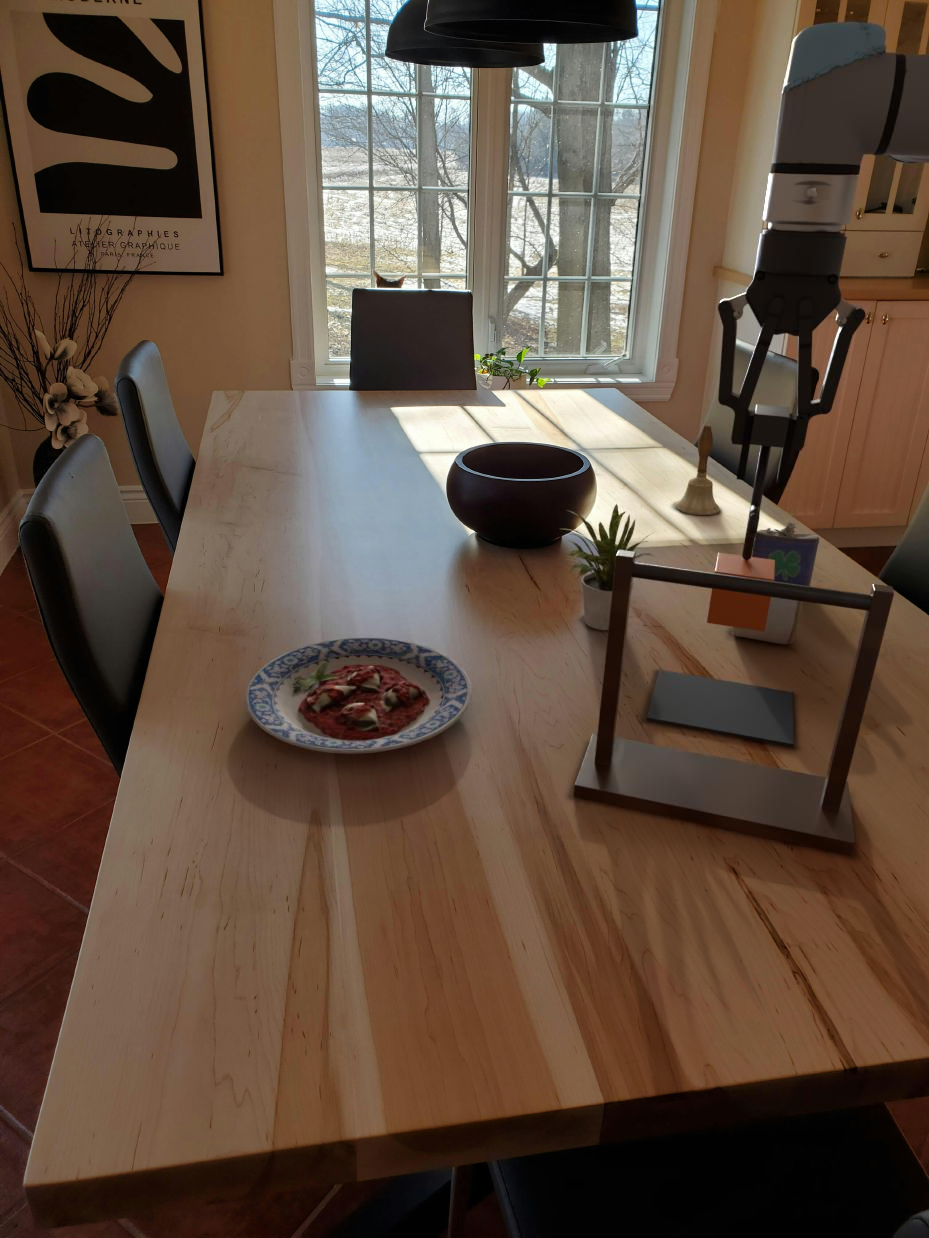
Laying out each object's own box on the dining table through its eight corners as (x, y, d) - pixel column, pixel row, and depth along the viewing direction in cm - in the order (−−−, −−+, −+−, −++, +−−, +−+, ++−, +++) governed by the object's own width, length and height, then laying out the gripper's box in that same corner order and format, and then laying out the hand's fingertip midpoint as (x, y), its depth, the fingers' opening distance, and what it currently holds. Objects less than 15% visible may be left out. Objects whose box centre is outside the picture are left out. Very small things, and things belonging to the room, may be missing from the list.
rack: (845, 793, 91) (902, 570, 80) (851, 855, 83) (916, 615, 72) (591, 744, 98) (613, 533, 87) (573, 797, 89) (594, 570, 79)
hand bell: (695, 518, 167) (707, 433, 160) (665, 505, 173) (676, 422, 166) (728, 511, 170) (742, 428, 163) (698, 499, 177) (710, 418, 170)
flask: (807, 588, 138) (820, 522, 134) (810, 595, 136) (824, 529, 131) (745, 582, 140) (756, 517, 135) (747, 590, 137) (759, 524, 132)
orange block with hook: (765, 609, 100) (803, 407, 91) (764, 631, 95) (805, 419, 85) (710, 601, 102) (742, 401, 92) (706, 623, 97) (739, 413, 87)
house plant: (550, 594, 134) (558, 488, 127) (644, 600, 133) (657, 494, 126) (548, 637, 121) (557, 522, 114) (652, 644, 120) (667, 529, 113)
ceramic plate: (517, 706, 105) (518, 684, 103) (342, 801, 88) (340, 776, 87) (374, 633, 121) (373, 613, 120) (203, 701, 104) (200, 678, 103)
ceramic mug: (793, 655, 118) (804, 602, 115) (729, 644, 120) (738, 591, 117) (796, 624, 127) (806, 573, 124) (736, 614, 129) (745, 564, 126)
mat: (792, 694, 109) (793, 691, 109) (793, 747, 98) (793, 744, 98) (659, 672, 113) (659, 669, 113) (646, 720, 103) (646, 717, 103)
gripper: (709, 225, 80) (676, 479, 91) (906, 233, 76) (847, 498, 86) (715, 223, 87) (683, 460, 97) (896, 230, 83) (843, 477, 93)
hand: (760, 477), depth 92 cm, fingers closed on orange block with hook, 3 cm apart
